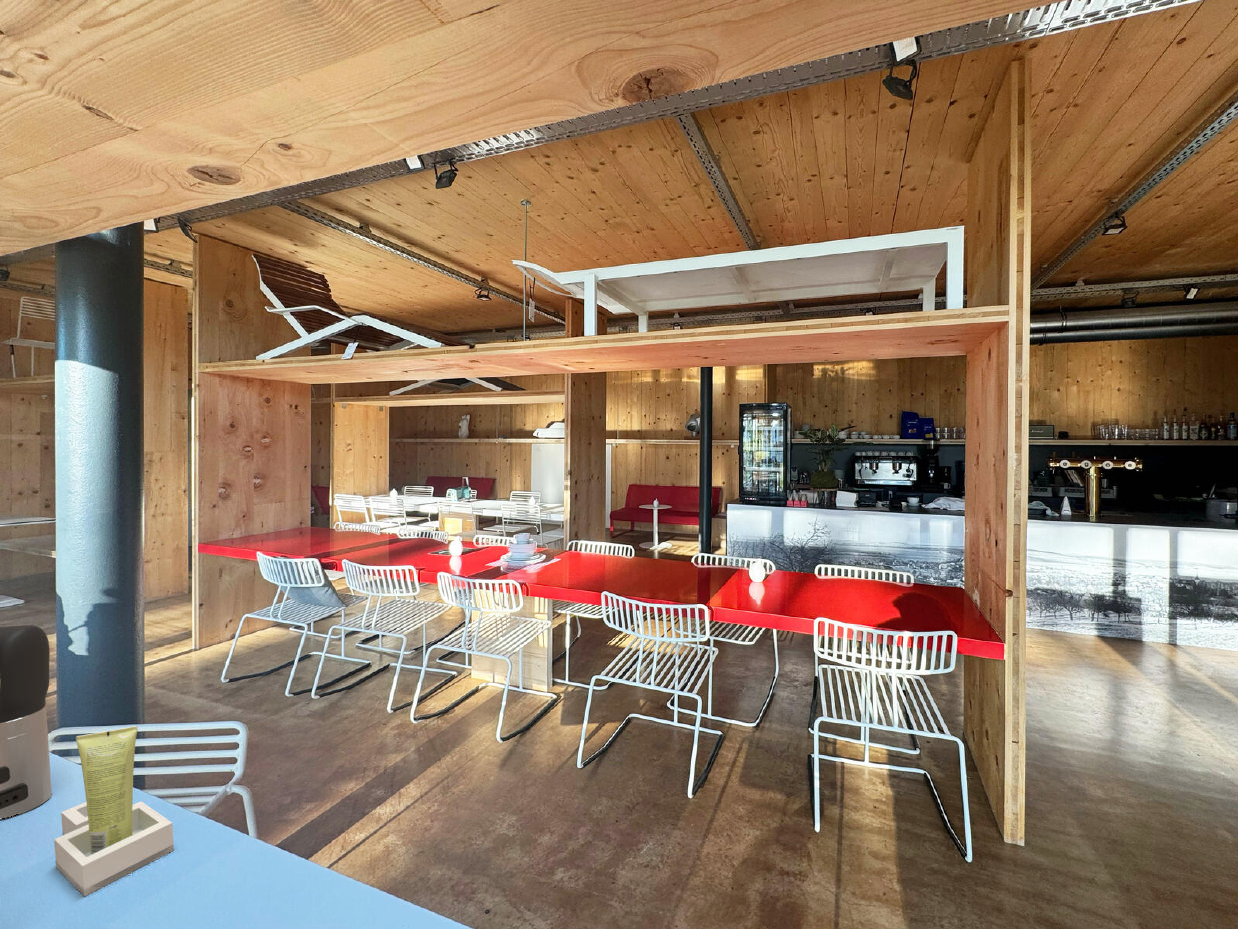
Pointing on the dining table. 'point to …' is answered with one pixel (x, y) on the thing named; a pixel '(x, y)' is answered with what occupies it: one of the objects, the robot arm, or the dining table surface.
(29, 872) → the dining table surface
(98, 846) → the tube
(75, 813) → the endcap
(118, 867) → the endcap
